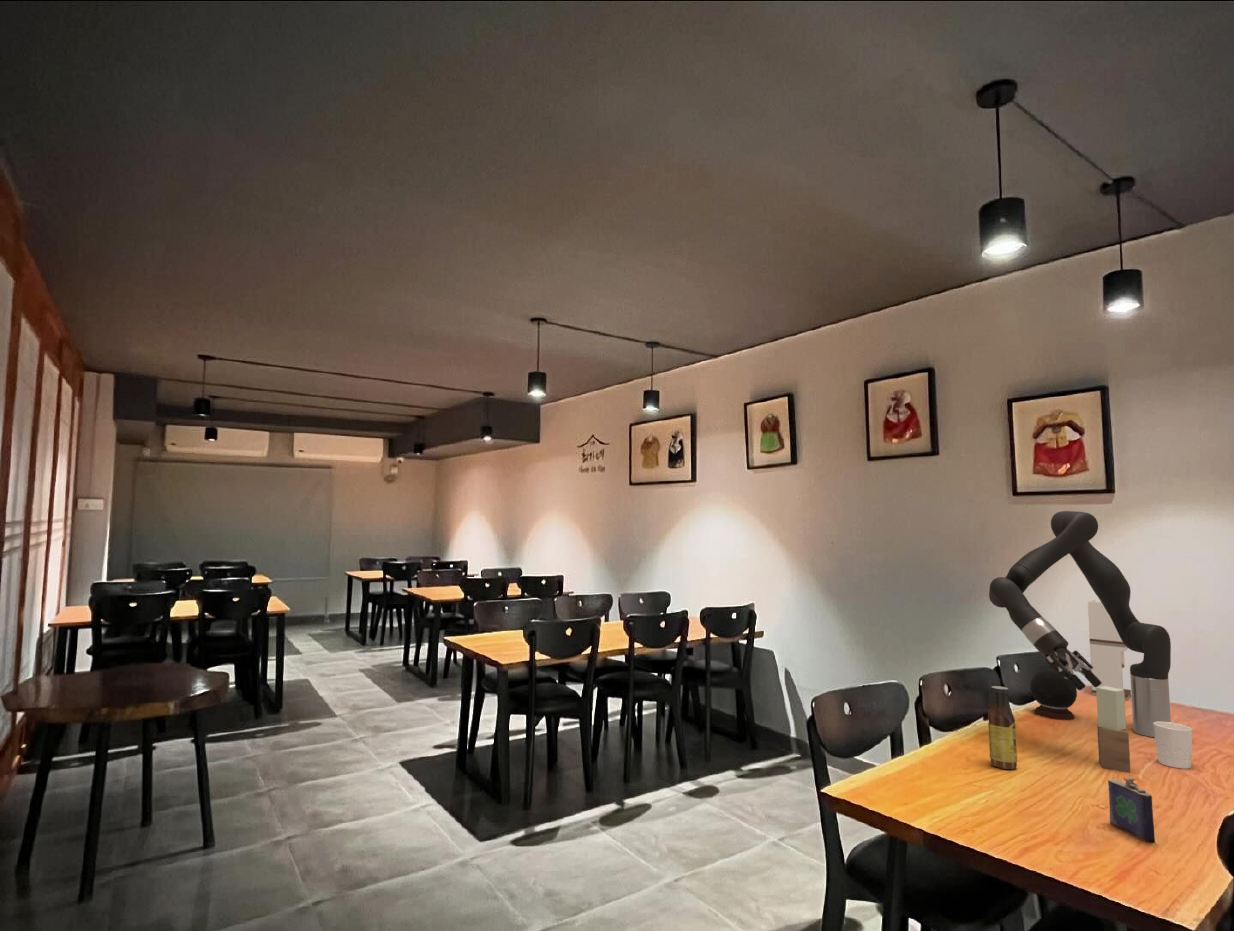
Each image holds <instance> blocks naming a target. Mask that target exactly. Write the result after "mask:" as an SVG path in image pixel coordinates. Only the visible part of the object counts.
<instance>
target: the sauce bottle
mask: <svg viewBox="0 0 1234 931" xmlns="http://www.w3.org/2000/svg"><path fill="white" fill-rule="evenodd" d="M1009 691H1010V690H1009V688H1008V687H1006V686H999V685H992V686H991V687H990V692H991V696H992V698H991V699H992V701H991V703H992V705H991V707H990V708H989V710H988V713H987V716H988V718H987V719H988V720H987V721H988V723H987V727H988V746H989V750H988V751H989V759H990V764H991V765H992V766H993V767H996V768H999V769H1003V770H1015V769H1017V767H1018V763H1017V762H1018V749H1017V746H1018V745H1017V732H1016V731H1017V730H1016V727H1017V726H1016V719H1015V717H1014V714H1013V711H1012V708H1011V706H1010V703H1009V694H1010V692H1009Z"/></svg>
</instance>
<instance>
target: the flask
mask: <svg viewBox="0 0 1234 931" xmlns="http://www.w3.org/2000/svg"><path fill="white" fill-rule="evenodd" d="M1136 780H1137V779H1136V778H1133V777H1130V778H1129V777H1127V778H1126V777H1124V778H1123V781H1125V782H1123V781H1121V780H1117V779H1114V778H1113V779H1108V780H1107V781H1108V782H1107V785H1108V798H1109V799H1108V800H1109V823H1110V824H1111V825H1112V826H1113V827H1114V828H1118V829H1120V830H1122V831H1123V832H1125V833H1126V834H1131V835H1132V836H1133V837H1136V838H1137V839H1139V840H1142V841H1143V842H1146V843H1149V844H1155V843H1156V839H1155V838H1156V837H1155V824H1154V810H1153V796H1152V794H1150V793H1149V792H1147V791H1146V790H1145V789H1144V788H1139V785H1138V784H1137V783H1135V782H1134V781H1136Z"/></svg>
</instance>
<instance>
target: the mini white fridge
mask: <svg viewBox="0 0 1234 931" xmlns="http://www.w3.org/2000/svg"><path fill="white" fill-rule="evenodd" d="M1087 611H1088V612H1087V614H1088V615H1087V616H1088V630H1089V631H1088V632H1089V634H1088V638H1089V653H1090V654H1089V657H1090V664H1091V665H1092V666H1093V669H1092V671H1091V672H1092V673H1093V674H1094V675H1095V676H1096V677H1097V678H1098V679H1099V680H1100V681H1101V682H1102V684H1101V685H1099V686H1098V687H1102V686H1108V687H1113V688H1118V689H1123V690H1124V695H1125V702H1126V701H1129V699H1130V698H1131V689H1128V688H1127V689H1126V688H1124V679H1123V669H1124V668H1125V666H1126V665H1125V652H1126V651H1127V650H1128V649H1129V648H1127V647H1126V646H1125V644H1124V643H1123V641H1122V640H1121V638H1120V636H1119V634H1118V632H1117V630H1116V628H1115V626H1114V624H1113V622H1112V620H1111V618H1110V616H1109V614H1108V613H1107V611H1106V609H1105V608H1104V606H1103V604H1102V603H1101V601H1099V602H1098V601H1096V599H1091V600H1089V601H1087ZM1096 688H1097V687H1094V686H1093V685H1092V684H1091V695H1092V696H1093V697H1097V692H1096Z"/></svg>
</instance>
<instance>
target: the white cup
mask: <svg viewBox="0 0 1234 931" xmlns="http://www.w3.org/2000/svg"><path fill="white" fill-rule="evenodd" d="M1153 725H1154V734H1155V737H1154V741H1155V749H1156V752H1157V753H1156V754H1157V760H1158V763H1160V764H1161V765H1164V766H1167V767H1170V768H1175V769H1183V770H1184V769H1188V770H1189V769H1190V768H1191V769H1192V754H1193V752H1192V751H1193V750H1192V749H1193V746H1192V745H1193V743H1192V742H1193V741H1192V739H1193V738H1192V737H1193V733H1192V732H1193V731H1192V730H1193V729H1192V727H1190V726H1187V725H1184V724H1180V723H1178V722H1154V723H1153Z"/></svg>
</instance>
